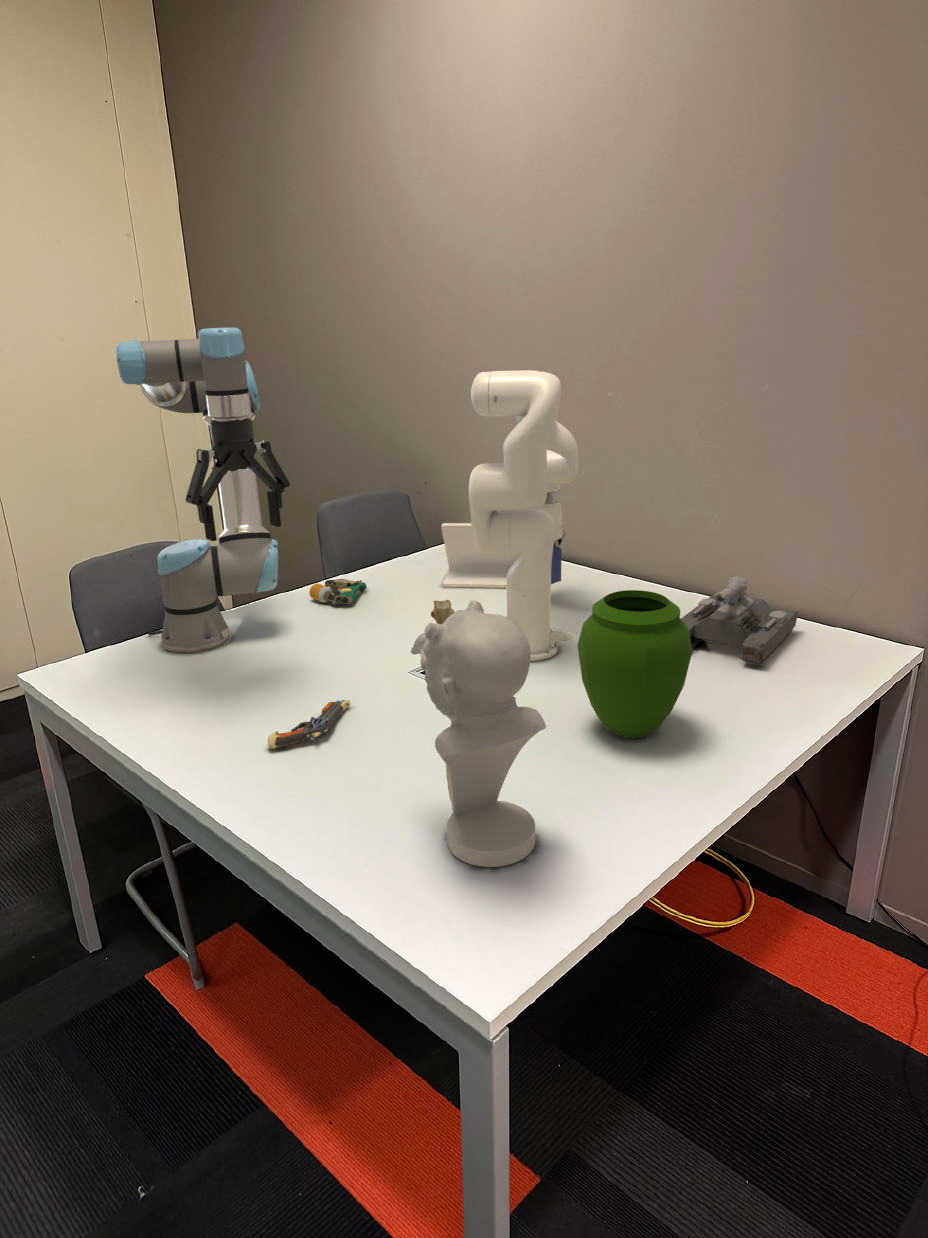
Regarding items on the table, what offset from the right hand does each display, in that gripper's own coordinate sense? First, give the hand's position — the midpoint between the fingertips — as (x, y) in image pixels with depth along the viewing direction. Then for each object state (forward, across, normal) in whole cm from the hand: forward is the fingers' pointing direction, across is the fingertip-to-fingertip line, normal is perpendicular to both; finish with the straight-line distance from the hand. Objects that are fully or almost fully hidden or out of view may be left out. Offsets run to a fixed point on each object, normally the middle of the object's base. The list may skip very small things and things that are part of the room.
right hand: (544, 567), depth 215 cm
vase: (+9, +40, +58) cm, 71 cm away
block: (+3, 0, 0) cm, 3 cm away
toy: (+9, -8, +49) cm, 50 cm away
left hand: (-24, +78, -5) cm, 82 cm away
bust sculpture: (+9, +82, +60) cm, 102 cm away
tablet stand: (+9, -5, -24) cm, 26 cm away
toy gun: (+9, +81, +15) cm, 83 cm away
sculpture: (+9, +46, +14) cm, 49 cm away
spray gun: (+9, +34, -42) cm, 54 cm away
